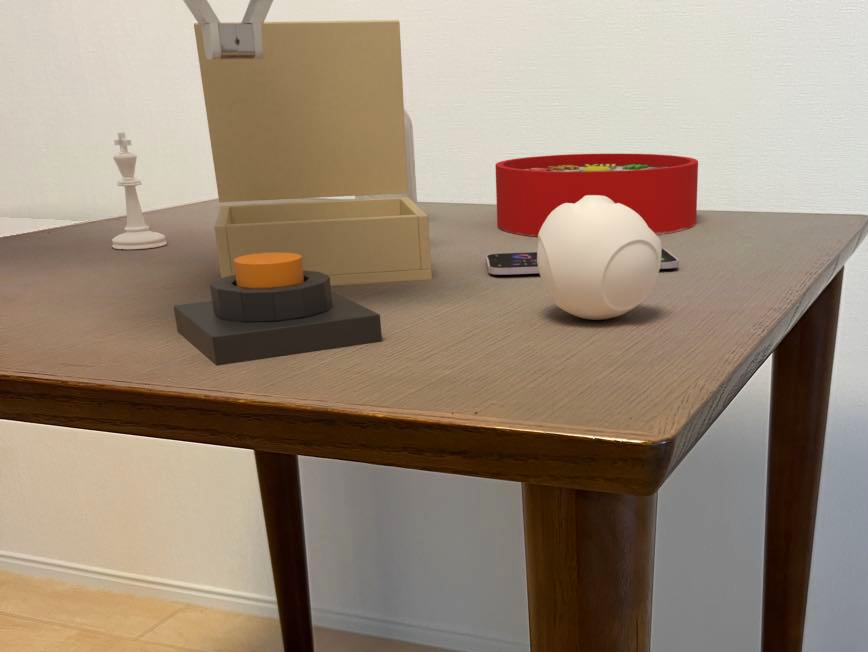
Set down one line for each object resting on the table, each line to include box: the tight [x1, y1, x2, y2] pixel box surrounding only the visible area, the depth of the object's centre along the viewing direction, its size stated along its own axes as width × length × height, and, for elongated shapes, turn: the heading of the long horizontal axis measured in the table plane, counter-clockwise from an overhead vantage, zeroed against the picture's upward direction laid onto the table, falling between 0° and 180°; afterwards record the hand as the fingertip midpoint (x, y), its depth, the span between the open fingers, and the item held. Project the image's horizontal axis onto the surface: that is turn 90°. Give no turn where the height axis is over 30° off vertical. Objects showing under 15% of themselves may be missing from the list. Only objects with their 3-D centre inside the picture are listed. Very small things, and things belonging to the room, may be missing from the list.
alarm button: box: [234, 252, 304, 288], centre depth 66 cm, size 4×4×2 cm
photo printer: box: [354, 107, 418, 206], centre depth 111 cm, size 10×4×12 cm, turn 27°
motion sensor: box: [536, 195, 663, 321], centre depth 69 cm, size 8×8×8 cm
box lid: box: [193, 19, 408, 203], centre depth 89 cm, size 13×16×4 cm
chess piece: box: [111, 132, 168, 251], centre depth 101 cm, size 5×5×10 cm
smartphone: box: [485, 247, 680, 276], centre depth 88 cm, size 8×1×15 cm
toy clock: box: [494, 153, 699, 237], centre depth 109 cm, size 20×6×20 cm
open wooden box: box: [213, 197, 433, 287], centre depth 87 cm, size 13×16×5 cm
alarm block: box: [173, 270, 383, 367], centre depth 67 cm, size 10×10×4 cm
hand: (235, 59), depth 61 cm, fingers closed
